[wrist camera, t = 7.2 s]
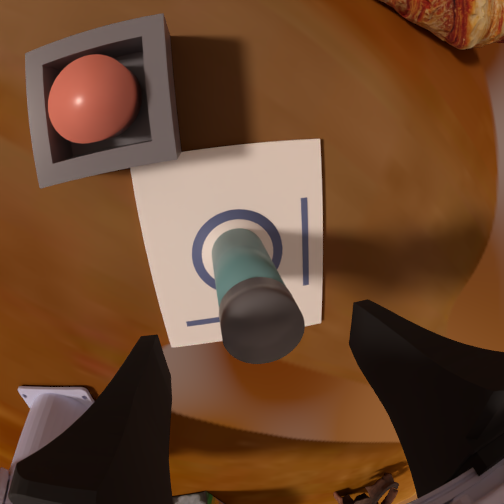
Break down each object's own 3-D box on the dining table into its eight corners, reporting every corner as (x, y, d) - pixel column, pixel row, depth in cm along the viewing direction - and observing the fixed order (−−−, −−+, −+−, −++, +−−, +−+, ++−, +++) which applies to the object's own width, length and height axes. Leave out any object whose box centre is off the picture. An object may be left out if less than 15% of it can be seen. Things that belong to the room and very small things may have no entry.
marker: (266, 273, 20) (304, 355, 13) (214, 281, 20) (227, 369, 13) (262, 224, 19) (304, 290, 12) (207, 231, 19) (216, 304, 11)
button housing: (181, 151, 17) (176, 159, 13) (68, 174, 16) (39, 188, 13) (170, 35, 14) (163, 13, 11) (56, 63, 13) (25, 53, 10)
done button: (146, 131, 14) (136, 132, 12) (73, 147, 14) (53, 152, 11) (138, 55, 13) (128, 44, 10) (65, 75, 12) (45, 69, 10)
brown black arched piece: (325, 486, 38) (362, 510, 31) (366, 450, 43) (403, 468, 36) (336, 516, 40) (368, 536, 33) (372, 484, 45) (404, 500, 38)
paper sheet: (319, 320, 23) (321, 323, 23) (171, 344, 22) (171, 348, 22) (318, 138, 18) (320, 139, 18) (130, 160, 17) (128, 161, 16)
